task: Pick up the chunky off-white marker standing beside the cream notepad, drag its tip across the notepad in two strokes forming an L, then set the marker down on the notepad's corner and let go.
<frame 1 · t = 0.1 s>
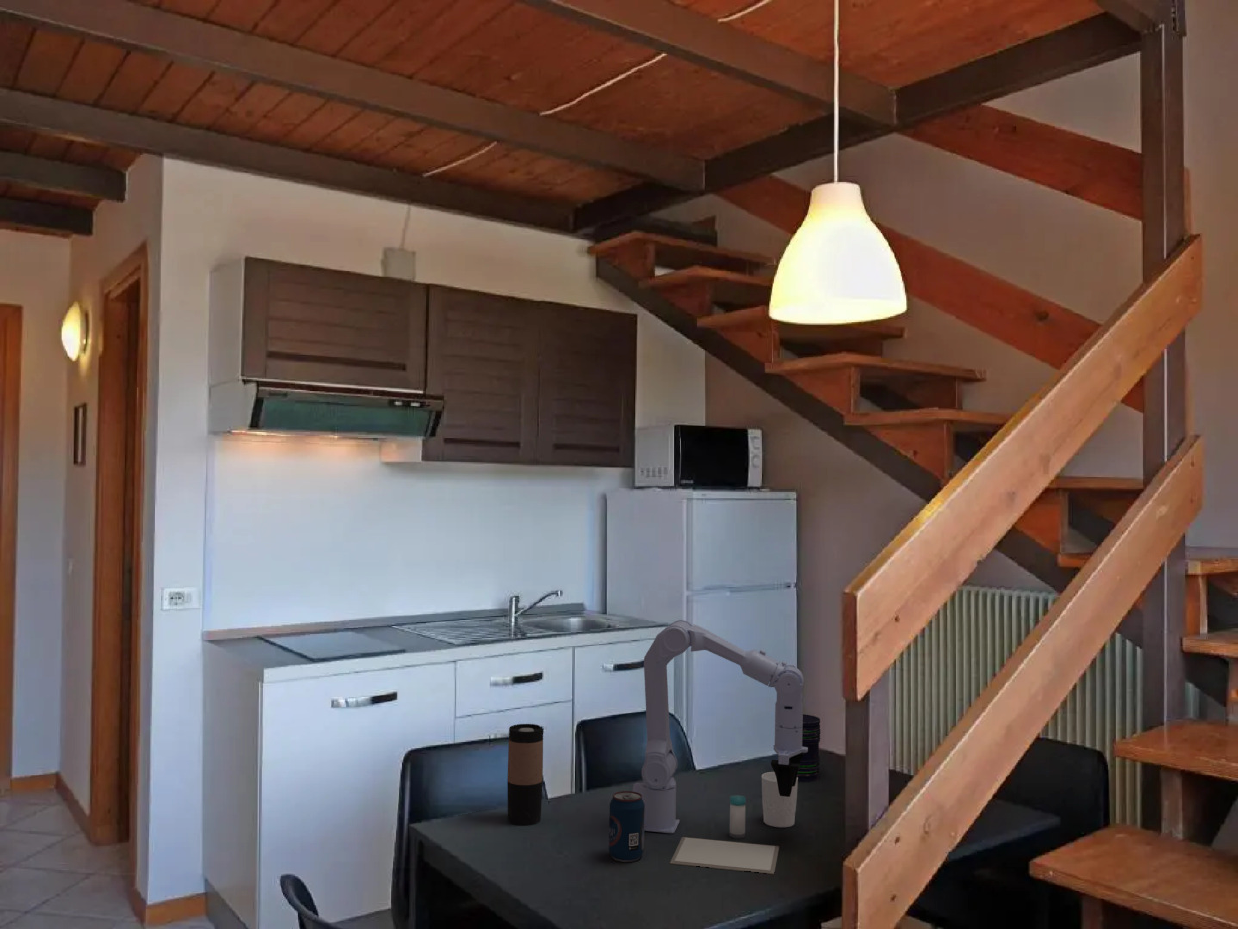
hand: (787, 790, 209), 10 cm above the table, tool pointing down, fingers open, 7 cm apart
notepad: (725, 855, 198), on the table
soda can: (626, 857, 197), on the table
storage jar: (800, 778, 254), on the table
travel mug: (524, 821, 217), on the table
white cup: (778, 823, 219), on the table
marker: (737, 836, 210), on the table
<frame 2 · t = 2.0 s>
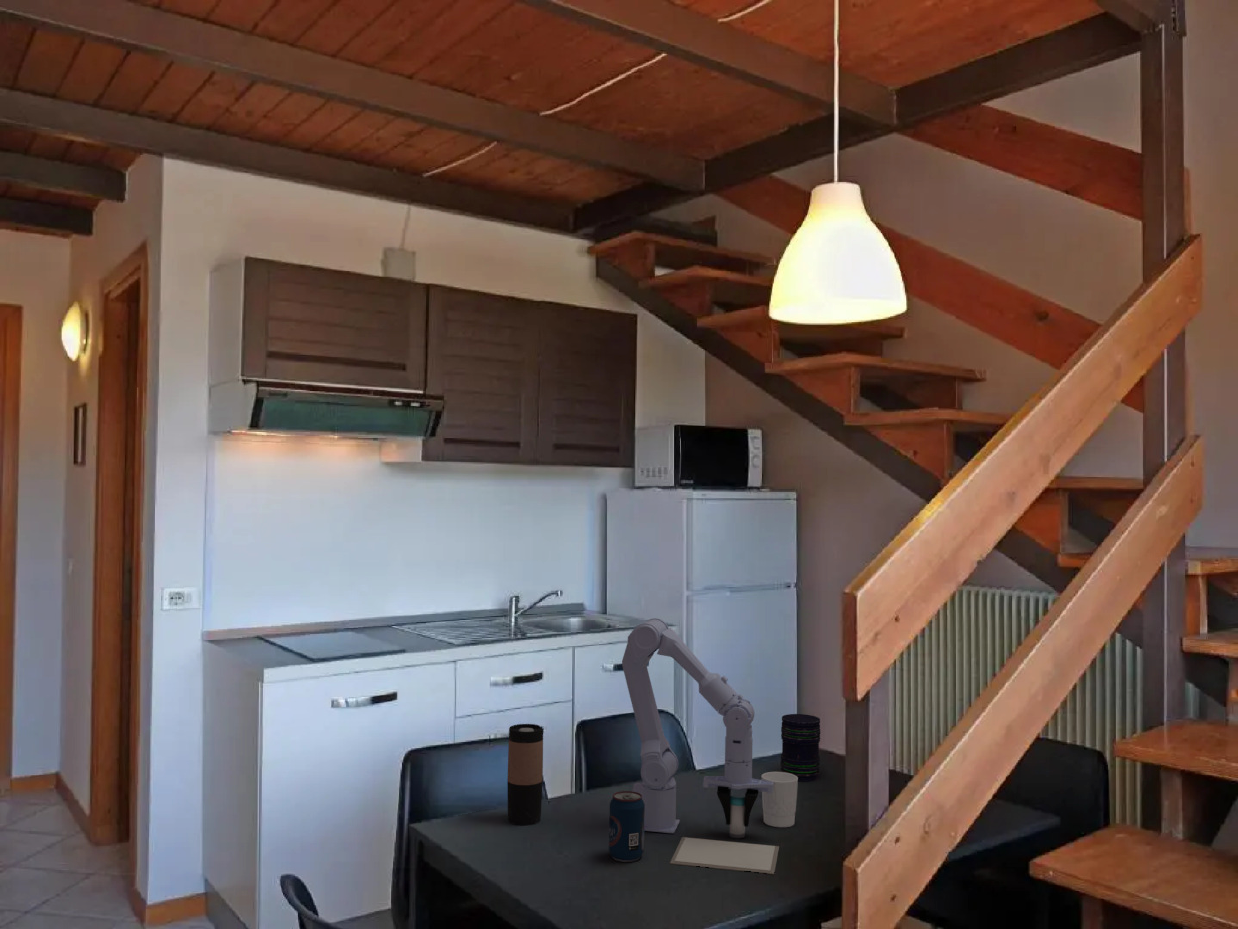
hand: (737, 824, 210), 2 cm above the table, tool pointing down, fingers closed on marker, 3 cm apart
marker: (737, 836, 210), on the table, touching gripper
everything else where it was.
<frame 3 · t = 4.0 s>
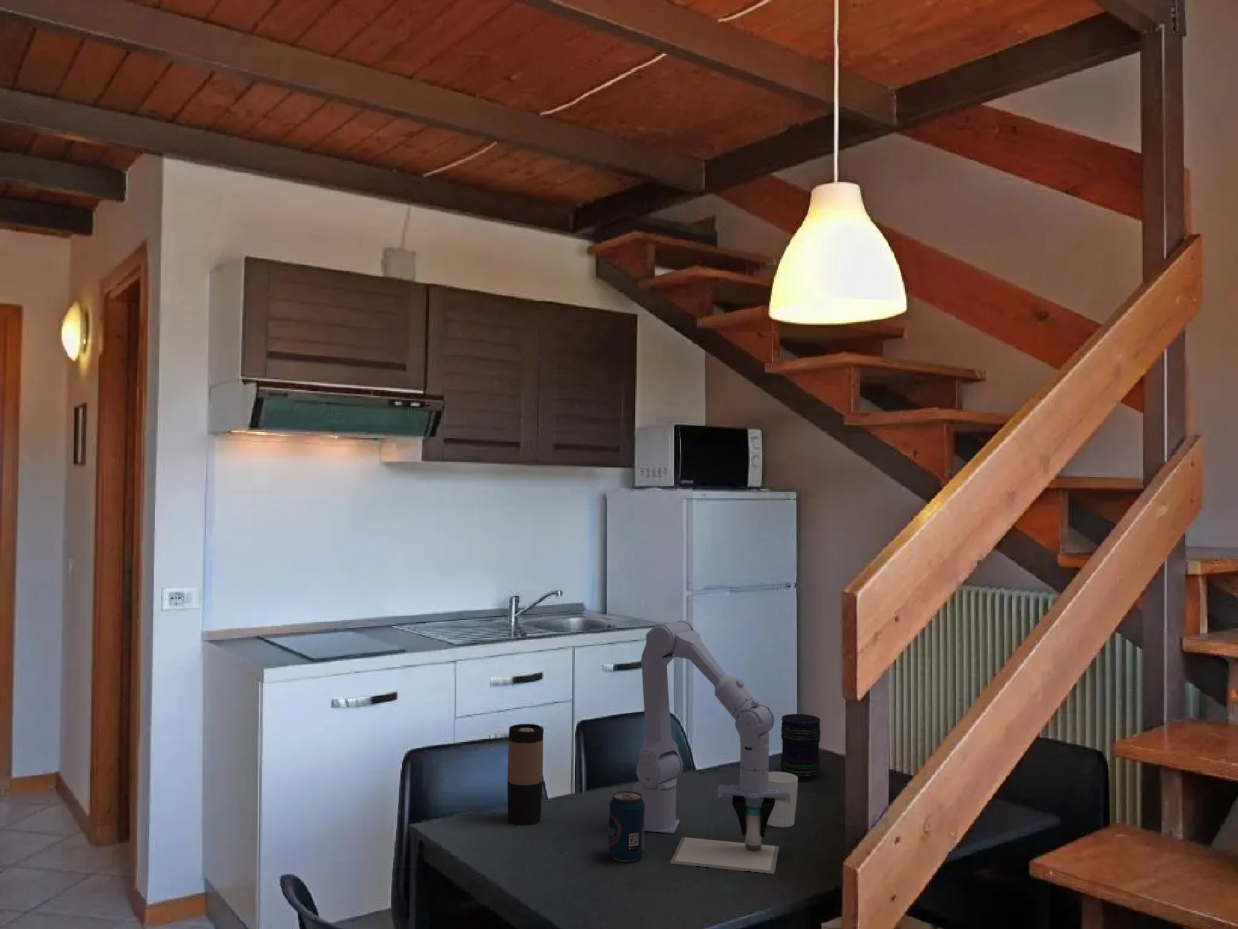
hand: (753, 835, 201), 3 cm above the table, tool pointing down, fingers closed on marker, 3 cm apart
marker: (753, 847, 201), point 1 cm above the table, touching gripper
everything else where it was.
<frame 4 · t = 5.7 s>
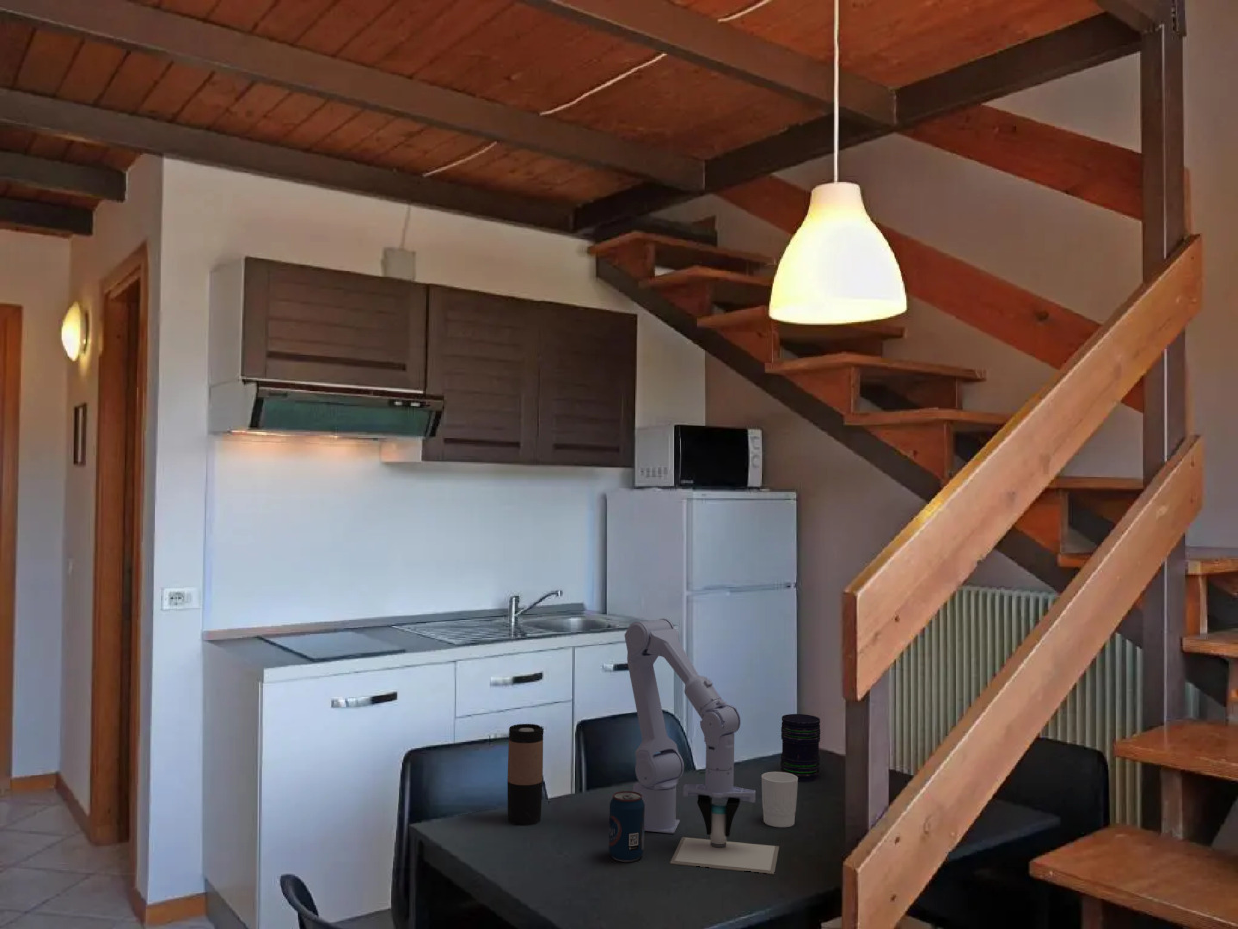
hand: (718, 834, 203), 3 cm above the table, tool pointing down, fingers closed on marker, 3 cm apart
marker: (718, 845, 203), resting on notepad, touching gripper
everything else where it was.
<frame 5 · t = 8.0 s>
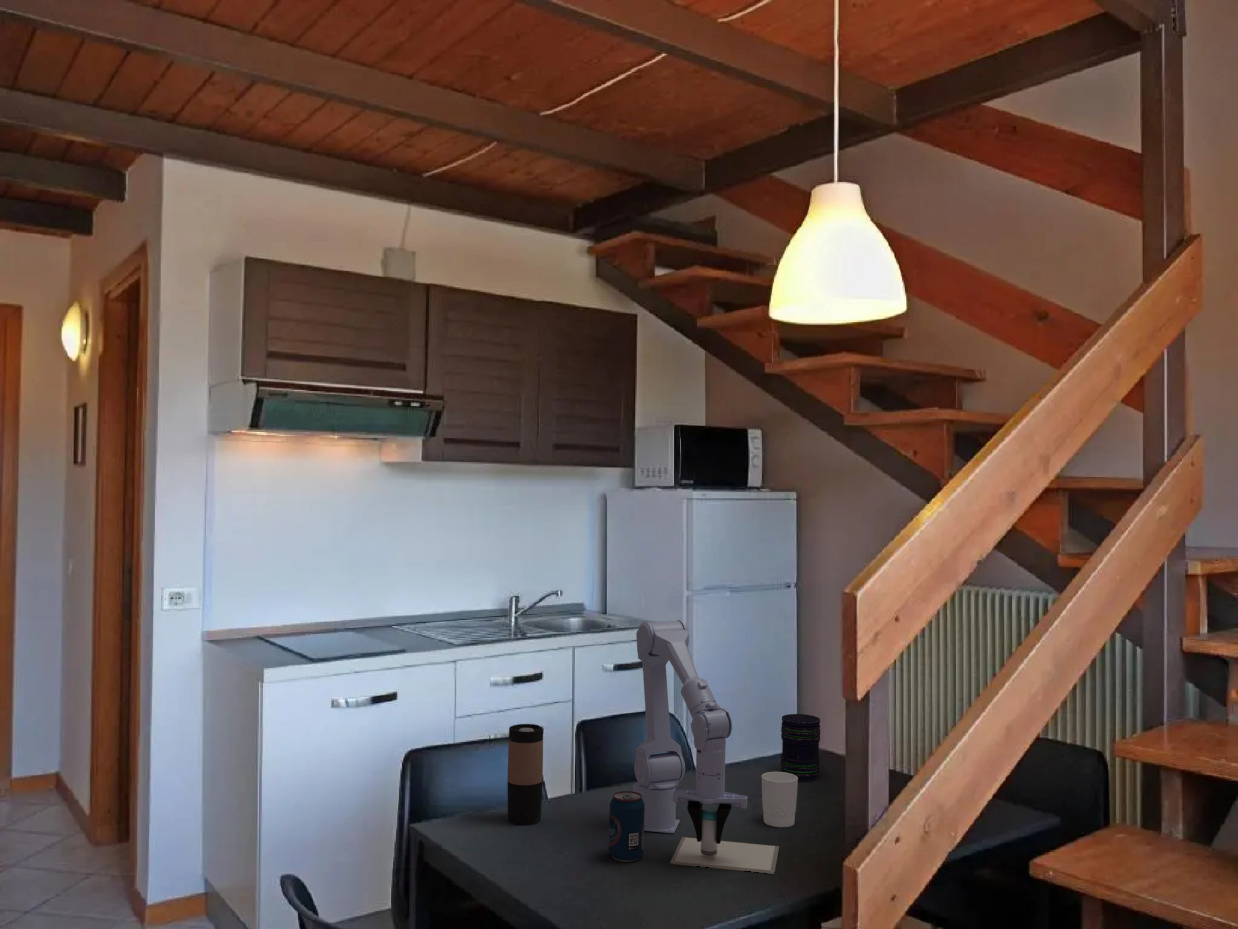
hand: (709, 841, 196), 4 cm above the table, tool pointing down, fingers closed on marker, 3 cm apart
marker: (708, 852, 196), point 1 cm above the table, touching gripper
everything else where it was.
when the fingers open (4 cm above the table, at t = 9.6 s): marker drops 1 cm, resting on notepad.
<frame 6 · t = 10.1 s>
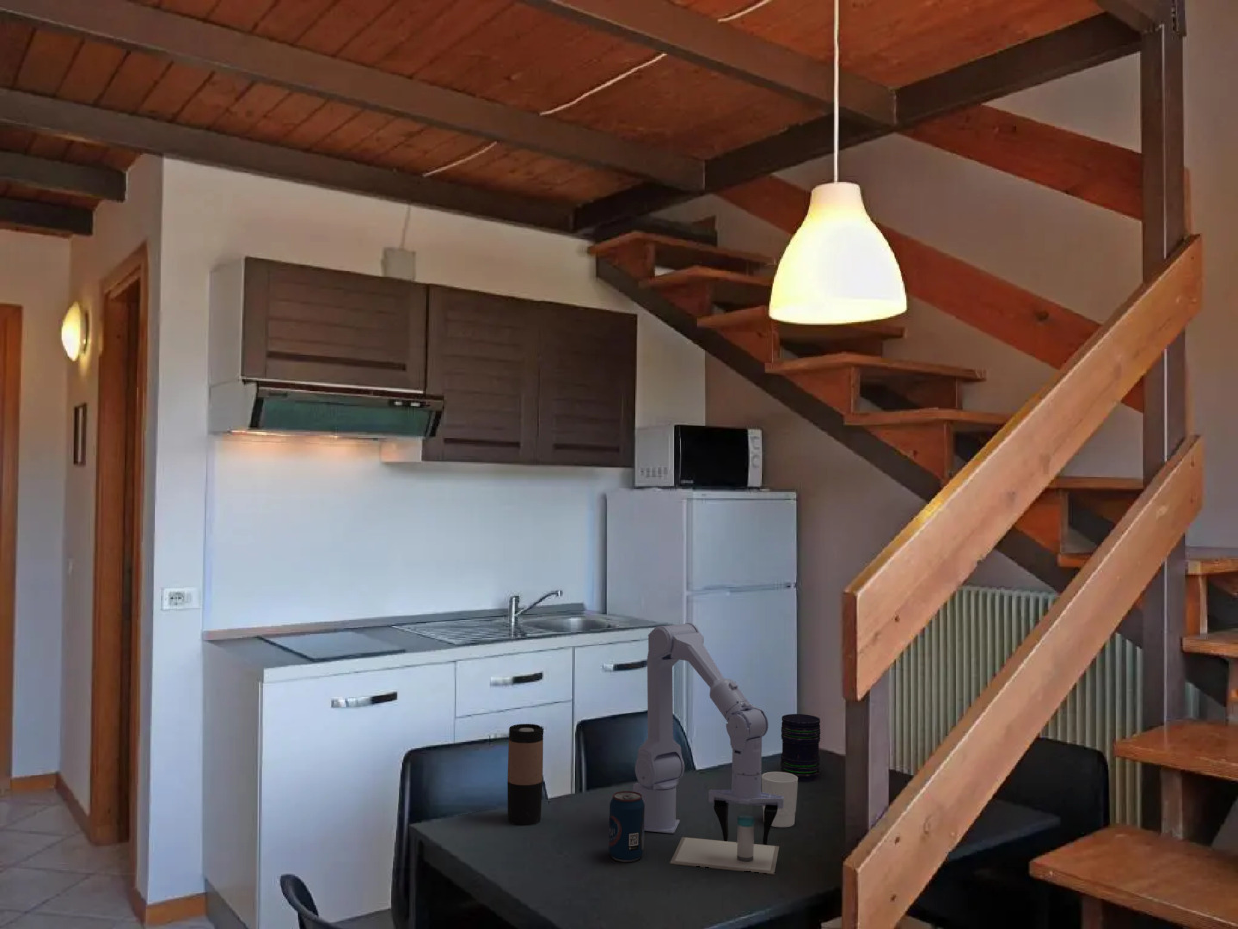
hand: (745, 841, 195), 4 cm above the table, tool pointing down, fingers open, 7 cm apart
marker: (745, 859, 195), resting on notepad
everything else where it was.
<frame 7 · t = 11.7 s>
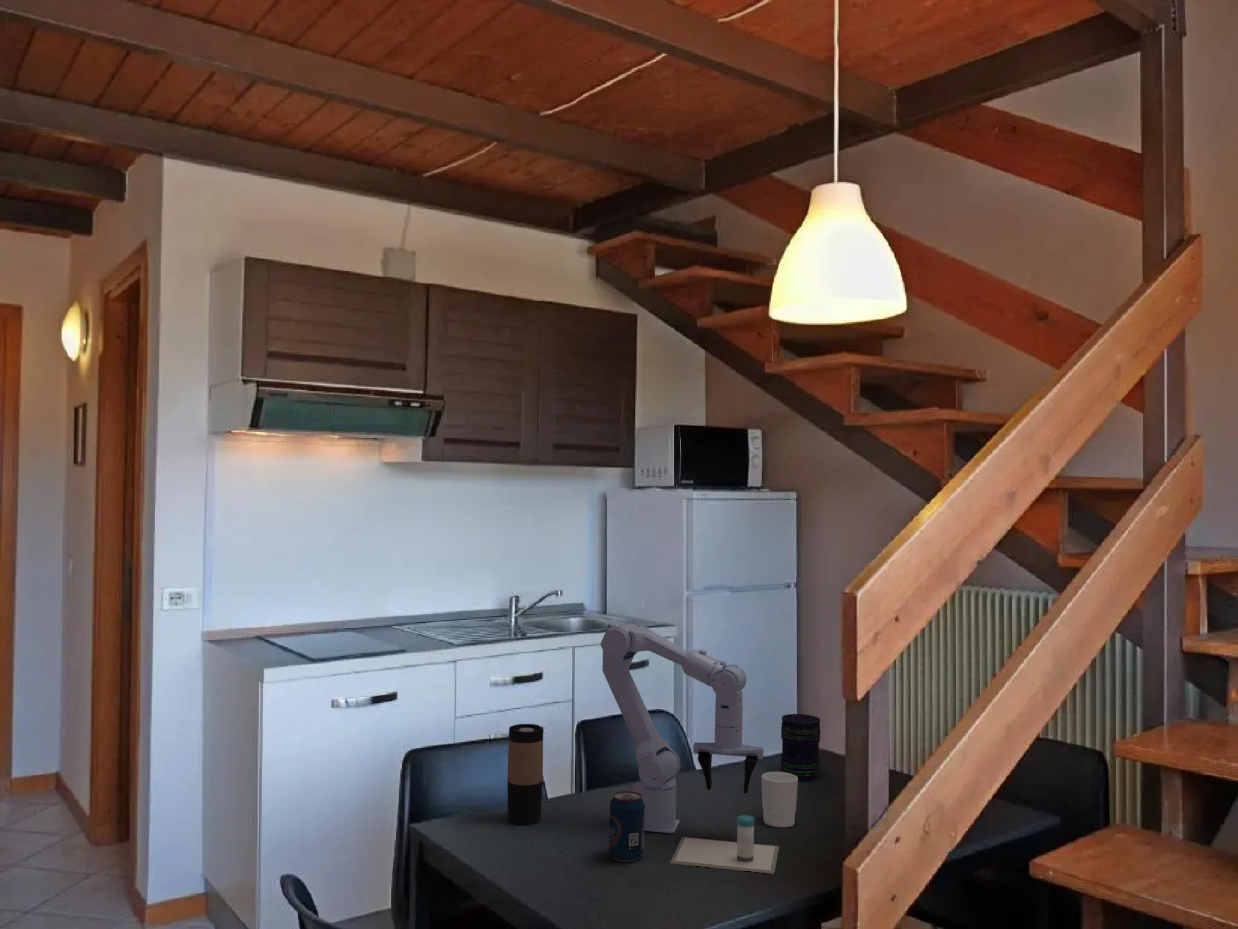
hand: (727, 790, 208), 10 cm above the table, tool pointing down, fingers open, 7 cm apart
nothing on the table moved.
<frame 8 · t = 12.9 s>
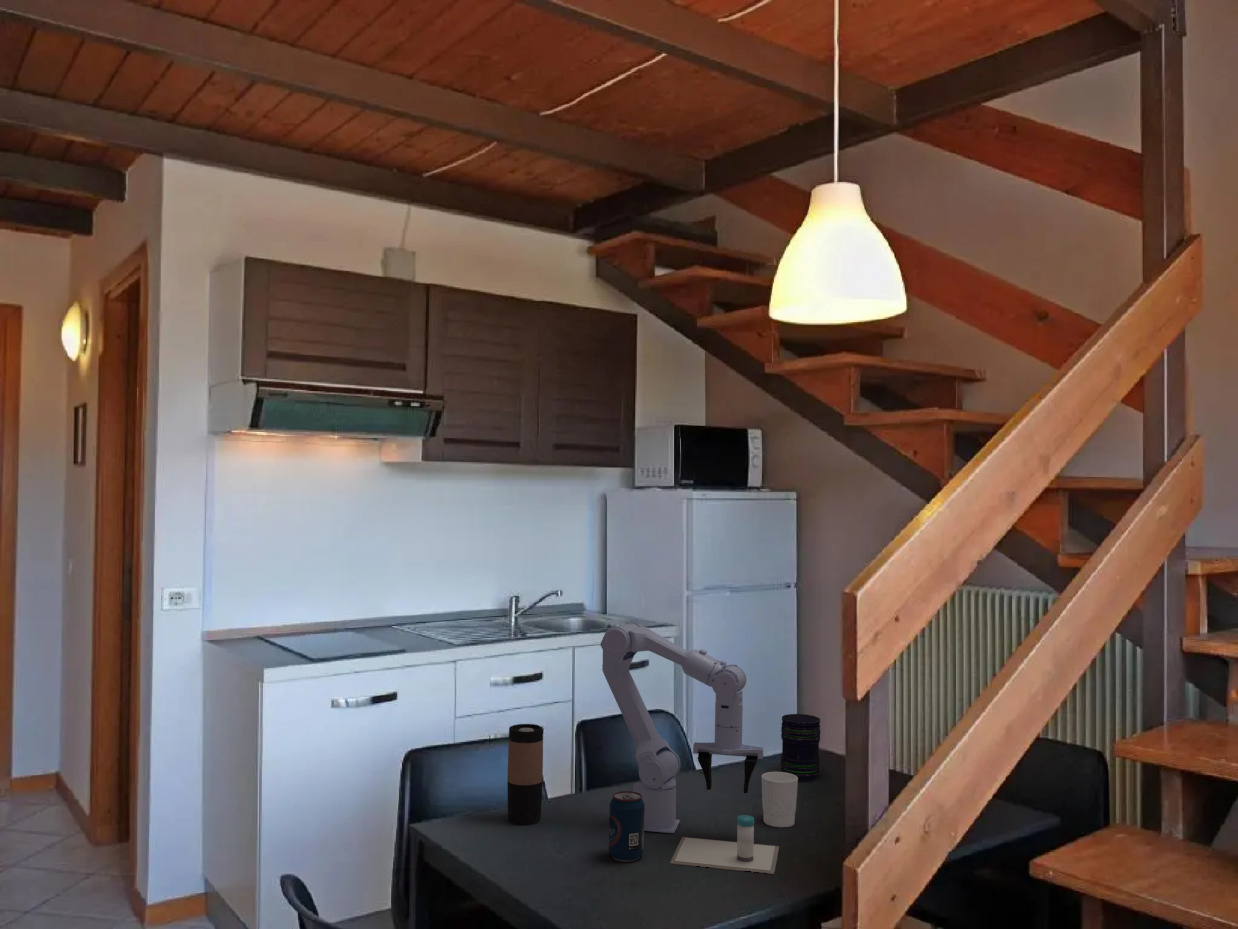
hand: (727, 790, 208), 10 cm above the table, tool pointing down, fingers open, 7 cm apart
nothing on the table moved.
at the end: marker inside the target area on the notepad (4.5 cm from its centre), point 0.4 cm above the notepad's base; marker touching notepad; the gripper is holding nothing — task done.
